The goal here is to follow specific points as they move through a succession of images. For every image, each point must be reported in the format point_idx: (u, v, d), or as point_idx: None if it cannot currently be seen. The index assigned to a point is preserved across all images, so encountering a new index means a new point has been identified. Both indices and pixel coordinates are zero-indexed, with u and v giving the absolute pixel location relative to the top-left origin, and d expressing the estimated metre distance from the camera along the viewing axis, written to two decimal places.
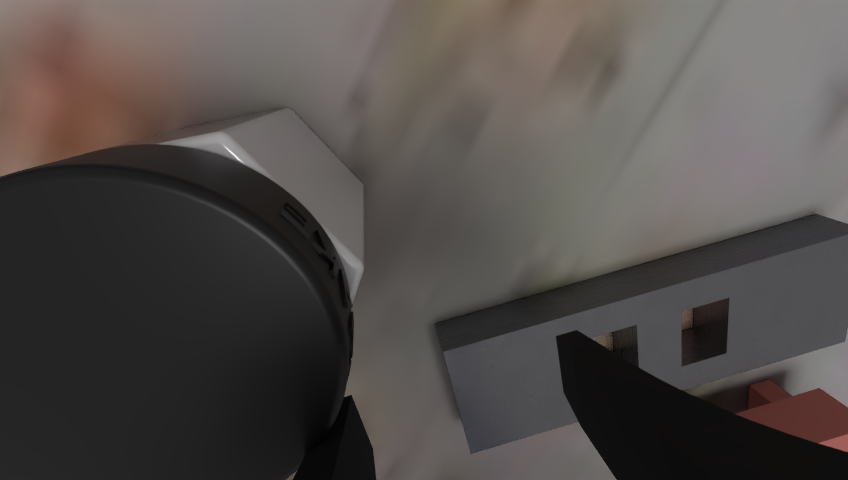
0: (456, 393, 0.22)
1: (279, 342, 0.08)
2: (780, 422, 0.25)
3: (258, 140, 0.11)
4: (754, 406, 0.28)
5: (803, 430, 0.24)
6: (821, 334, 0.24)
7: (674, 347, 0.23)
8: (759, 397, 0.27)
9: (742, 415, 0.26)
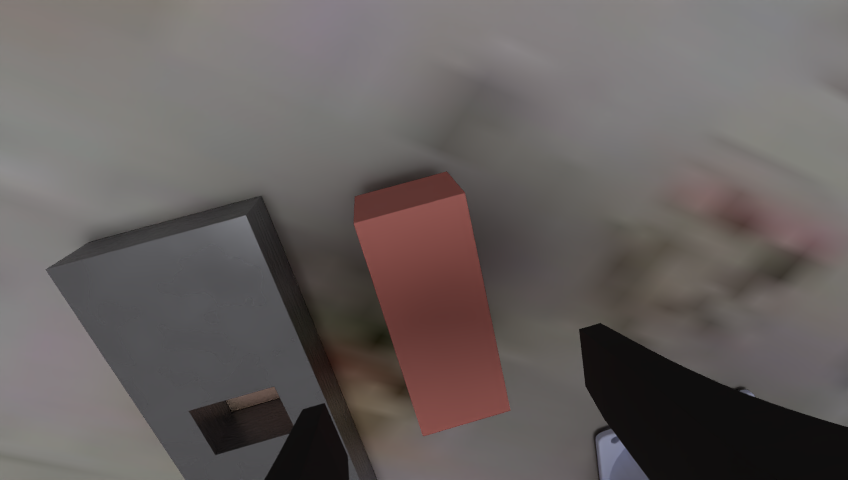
0: None
1: None
2: None
3: None
4: None
5: None
6: (235, 262, 0.15)
7: (267, 447, 0.19)
8: None
9: None
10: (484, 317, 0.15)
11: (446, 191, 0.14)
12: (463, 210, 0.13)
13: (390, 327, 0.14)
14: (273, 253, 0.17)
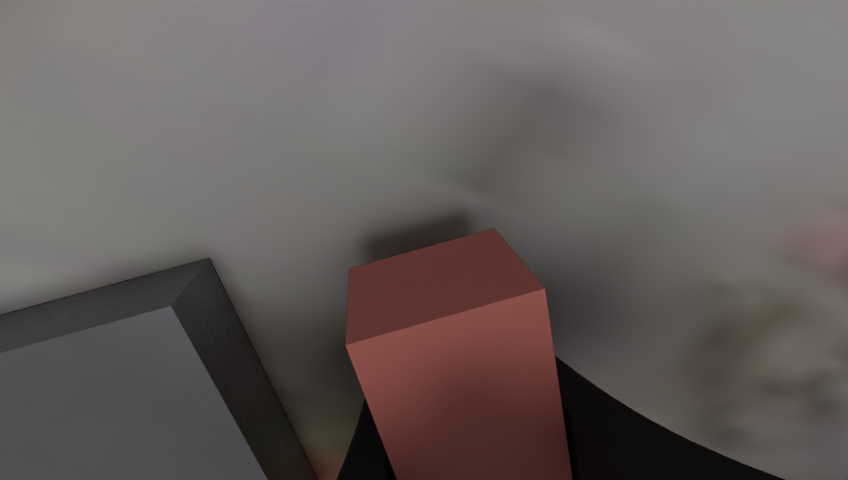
0: None
1: None
2: None
3: None
4: None
5: None
6: (158, 375, 0.10)
7: None
8: None
9: None
10: (561, 473, 0.09)
11: (508, 279, 0.08)
12: (540, 317, 0.07)
13: None
14: (225, 348, 0.11)
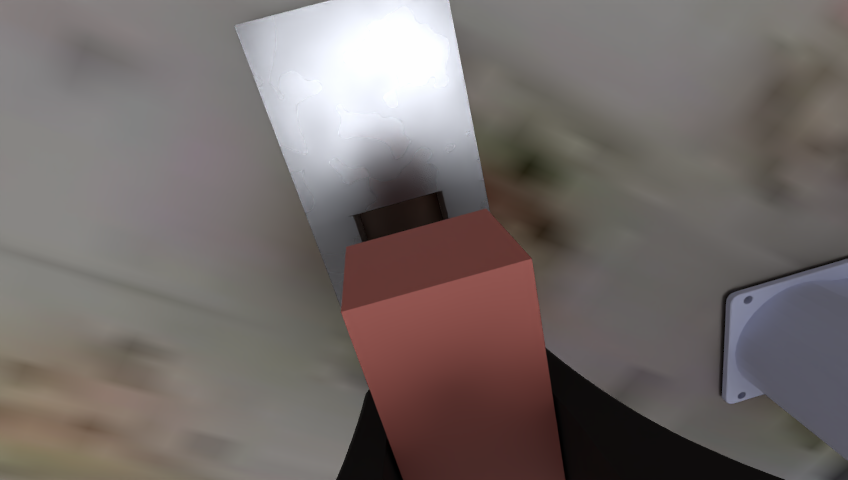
0: None
1: None
2: None
3: None
4: None
5: None
6: (424, 30, 0.15)
7: None
8: None
9: None
10: (549, 442, 0.09)
11: (497, 252, 0.08)
12: (527, 287, 0.08)
13: (401, 464, 0.09)
14: None
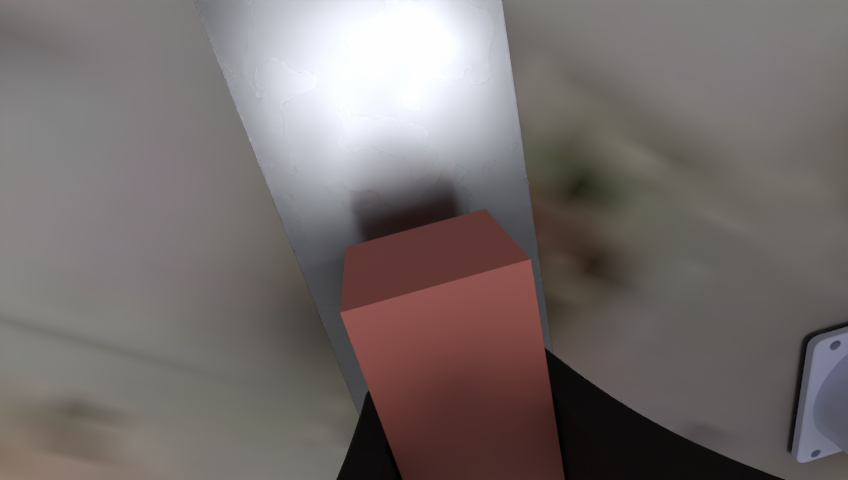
0: None
1: None
2: None
3: None
4: None
5: None
6: (460, 3, 0.10)
7: None
8: None
9: None
10: (549, 443, 0.09)
11: (496, 252, 0.08)
12: (526, 287, 0.08)
13: (401, 464, 0.09)
14: None
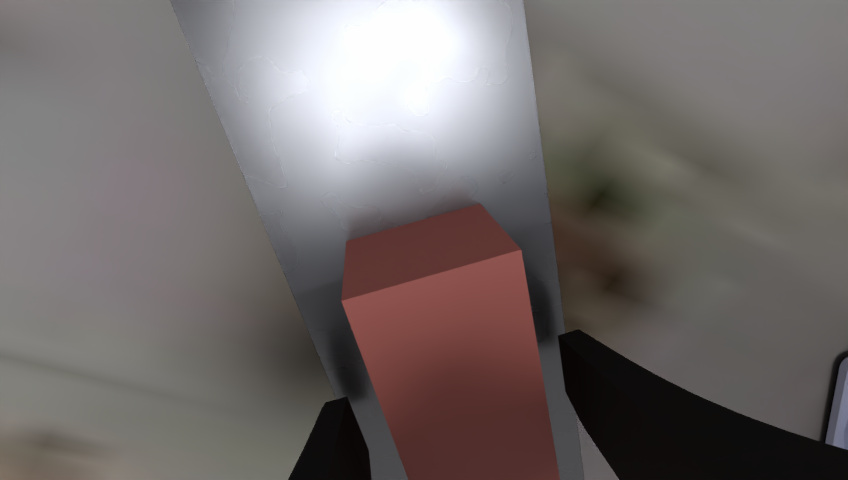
0: None
1: None
2: None
3: None
4: None
5: None
6: None
7: None
8: None
9: None
10: (541, 426, 0.10)
11: (489, 243, 0.09)
12: (517, 276, 0.08)
13: (400, 447, 0.09)
14: None
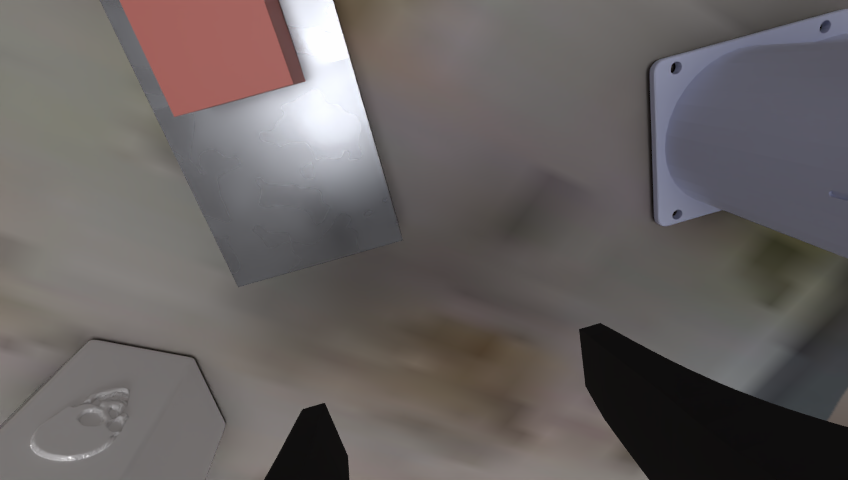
0: (301, 266, 0.18)
1: None
2: None
3: None
4: None
5: None
6: None
7: None
8: None
9: None
10: None
11: None
12: None
13: None
14: None
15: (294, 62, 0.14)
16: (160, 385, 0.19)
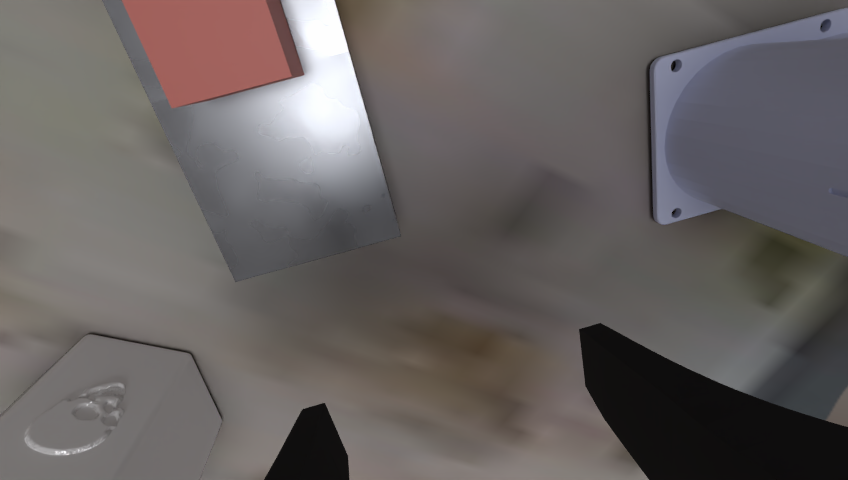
0: (299, 261, 0.18)
1: None
2: None
3: None
4: None
5: None
6: None
7: None
8: None
9: None
10: None
11: None
12: None
13: None
14: None
15: (293, 55, 0.14)
16: (156, 380, 0.19)
